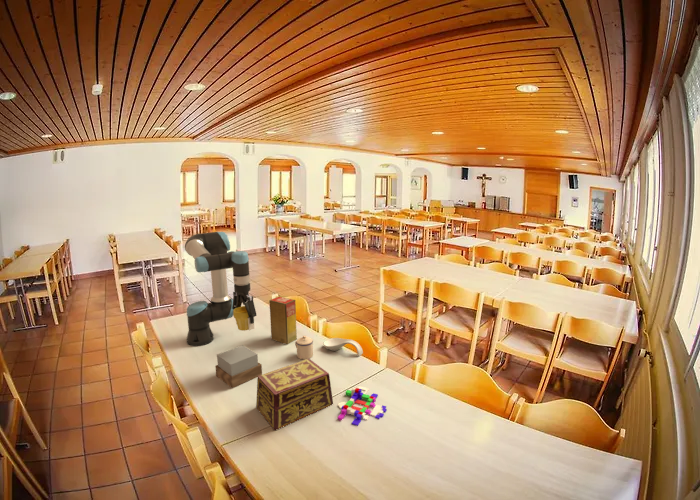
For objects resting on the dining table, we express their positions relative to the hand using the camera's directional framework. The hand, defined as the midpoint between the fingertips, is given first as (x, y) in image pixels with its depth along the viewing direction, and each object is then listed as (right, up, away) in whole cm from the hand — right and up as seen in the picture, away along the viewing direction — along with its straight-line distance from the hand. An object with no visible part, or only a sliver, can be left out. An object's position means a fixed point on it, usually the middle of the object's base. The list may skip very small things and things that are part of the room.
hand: (245, 326), depth 183 cm
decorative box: (+28, -30, -24) cm, 48 cm away
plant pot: (0, -1, 0) cm, 1 cm away
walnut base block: (-3, -25, 0) cm, 25 cm away
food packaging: (+12, -16, +40) cm, 45 cm away
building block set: (+57, -30, -25) cm, 69 cm away
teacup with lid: (+26, -20, +20) cm, 39 cm away
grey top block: (-3, -19, -1) cm, 19 cm away
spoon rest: (+48, -19, +25) cm, 57 cm away
